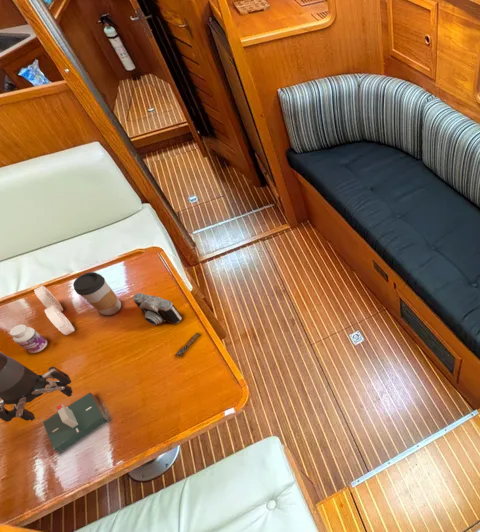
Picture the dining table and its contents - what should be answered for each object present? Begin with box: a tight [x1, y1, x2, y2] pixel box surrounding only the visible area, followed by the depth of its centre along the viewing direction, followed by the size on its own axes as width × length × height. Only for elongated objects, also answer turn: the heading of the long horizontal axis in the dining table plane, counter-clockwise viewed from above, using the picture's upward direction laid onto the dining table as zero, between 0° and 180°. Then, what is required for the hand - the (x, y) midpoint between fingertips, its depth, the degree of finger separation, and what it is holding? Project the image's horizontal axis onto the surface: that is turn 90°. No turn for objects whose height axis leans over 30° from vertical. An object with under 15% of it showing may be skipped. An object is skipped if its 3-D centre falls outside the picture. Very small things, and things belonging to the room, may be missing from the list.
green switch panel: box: [42, 392, 109, 453], centre depth 109 cm, size 12×10×3 cm
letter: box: [33, 285, 75, 336], centre depth 130 cm, size 22×2×10 cm, turn 46°
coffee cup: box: [72, 271, 122, 316], centre depth 131 cm, size 8×8×15 cm
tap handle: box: [55, 403, 78, 428], centre depth 106 cm, size 6×1×5 cm, turn 45°
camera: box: [132, 292, 183, 326], centre depth 130 cm, size 15×7×10 cm, turn 72°
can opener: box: [176, 332, 200, 357], centre depth 126 cm, size 9×2×1 cm, turn 151°
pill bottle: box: [9, 323, 48, 354], centre depth 123 cm, size 5×5×10 cm
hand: (51, 405), depth 101 cm, fingers open, 8 cm apart
